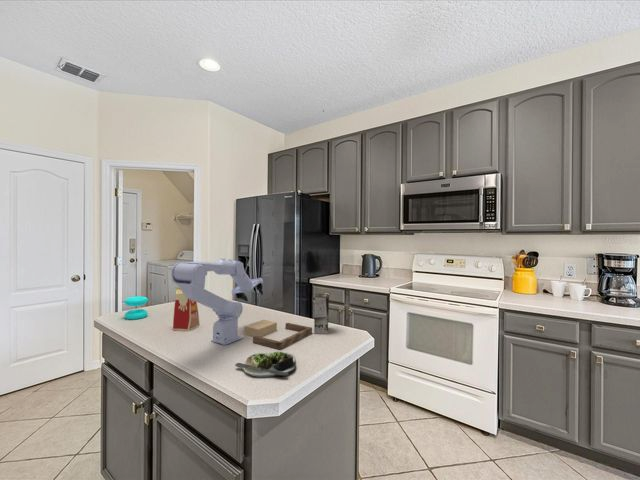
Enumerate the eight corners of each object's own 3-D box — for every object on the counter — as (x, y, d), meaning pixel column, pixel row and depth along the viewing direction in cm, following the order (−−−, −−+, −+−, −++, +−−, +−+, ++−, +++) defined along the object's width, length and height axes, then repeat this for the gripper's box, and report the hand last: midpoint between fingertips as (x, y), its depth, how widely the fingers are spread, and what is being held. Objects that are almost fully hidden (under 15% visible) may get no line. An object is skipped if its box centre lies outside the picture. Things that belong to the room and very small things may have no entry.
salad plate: (230, 382, 88) (230, 366, 88) (240, 357, 105) (240, 344, 105) (296, 380, 90) (296, 365, 90) (295, 356, 107) (295, 343, 107)
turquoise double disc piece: (120, 298, 150) (141, 295, 158) (120, 318, 150) (141, 313, 158) (130, 300, 144) (151, 297, 153) (130, 321, 145) (151, 316, 153)
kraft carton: (258, 338, 125) (258, 329, 125) (244, 335, 129) (244, 326, 129) (276, 331, 135) (276, 322, 135) (263, 328, 139) (263, 319, 139)
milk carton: (199, 325, 140) (200, 282, 140) (189, 331, 131) (189, 286, 131) (181, 324, 141) (181, 282, 141) (169, 330, 132) (170, 285, 132)
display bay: (279, 350, 112) (279, 343, 112) (252, 342, 119) (252, 336, 119) (312, 333, 132) (312, 327, 132) (287, 328, 139) (287, 322, 139)
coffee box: (328, 334, 131) (329, 297, 131) (313, 333, 131) (314, 297, 131) (328, 327, 140) (328, 293, 140) (314, 327, 140) (315, 293, 140)
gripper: (256, 266, 134) (266, 283, 144) (225, 280, 133) (238, 296, 143) (259, 278, 129) (270, 294, 139) (227, 292, 128) (241, 307, 138)
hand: (254, 296), depth 141 cm, fingers open, 7 cm apart
